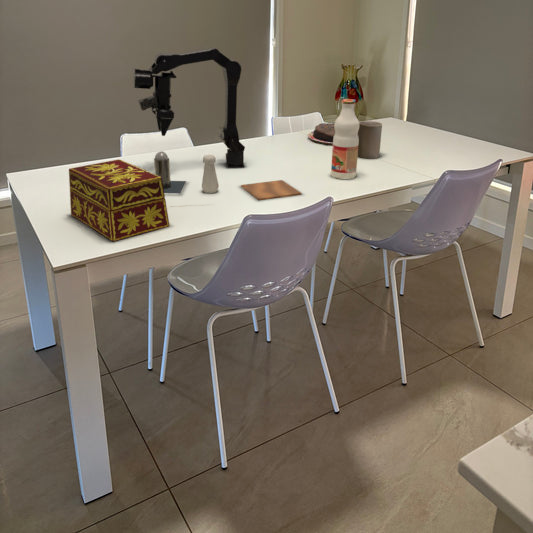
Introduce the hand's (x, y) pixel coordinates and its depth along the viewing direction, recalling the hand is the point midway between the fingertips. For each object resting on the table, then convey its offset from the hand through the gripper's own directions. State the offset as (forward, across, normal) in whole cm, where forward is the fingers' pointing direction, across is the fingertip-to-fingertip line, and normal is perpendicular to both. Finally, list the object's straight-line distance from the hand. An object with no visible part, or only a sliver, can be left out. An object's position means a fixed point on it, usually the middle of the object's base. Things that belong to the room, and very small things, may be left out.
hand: (161, 133), depth 220 cm
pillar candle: (+7, 0, +87) cm, 87 cm away
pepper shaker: (+14, +22, -2) cm, 26 cm away
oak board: (+12, +34, +34) cm, 49 cm away
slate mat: (+15, +22, -2) cm, 26 cm away
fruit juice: (+9, +24, +65) cm, 70 cm away
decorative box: (+16, +50, -19) cm, 56 cm away
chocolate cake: (+7, -31, +86) cm, 92 cm away
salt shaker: (+14, +31, +13) cm, 36 cm away
